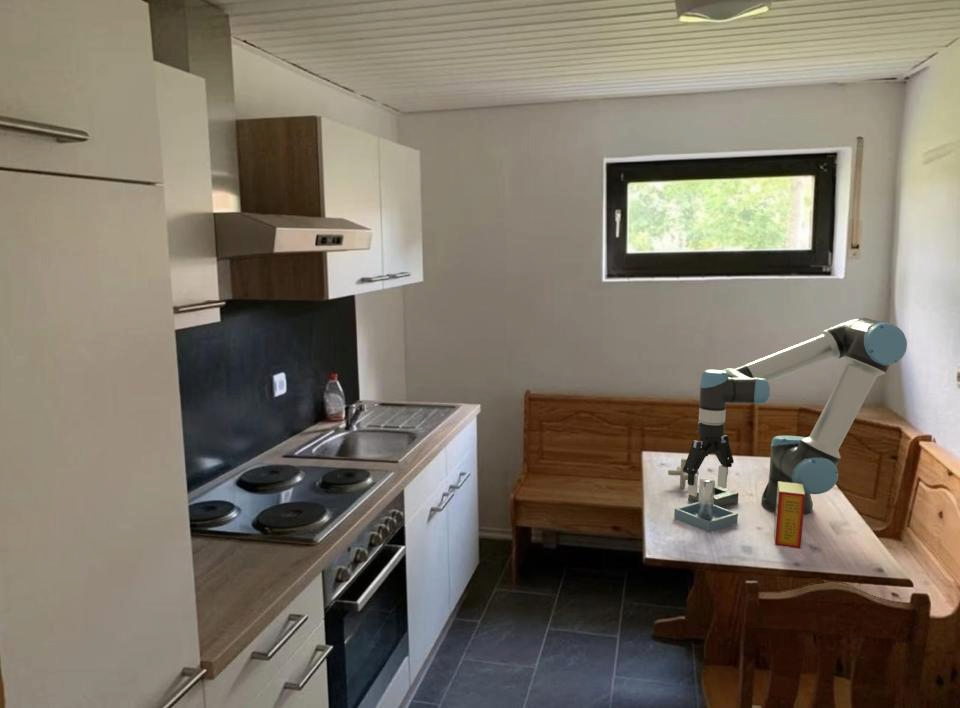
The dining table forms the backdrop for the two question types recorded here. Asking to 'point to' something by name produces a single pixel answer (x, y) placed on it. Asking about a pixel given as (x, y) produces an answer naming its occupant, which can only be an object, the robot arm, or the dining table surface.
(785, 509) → the baking soda box
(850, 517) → the dining table surface
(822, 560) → the dining table surface
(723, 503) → the block
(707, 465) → the dining table surface
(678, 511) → the parts tray
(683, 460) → the pipe connector
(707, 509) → the shiny metal cylinder
